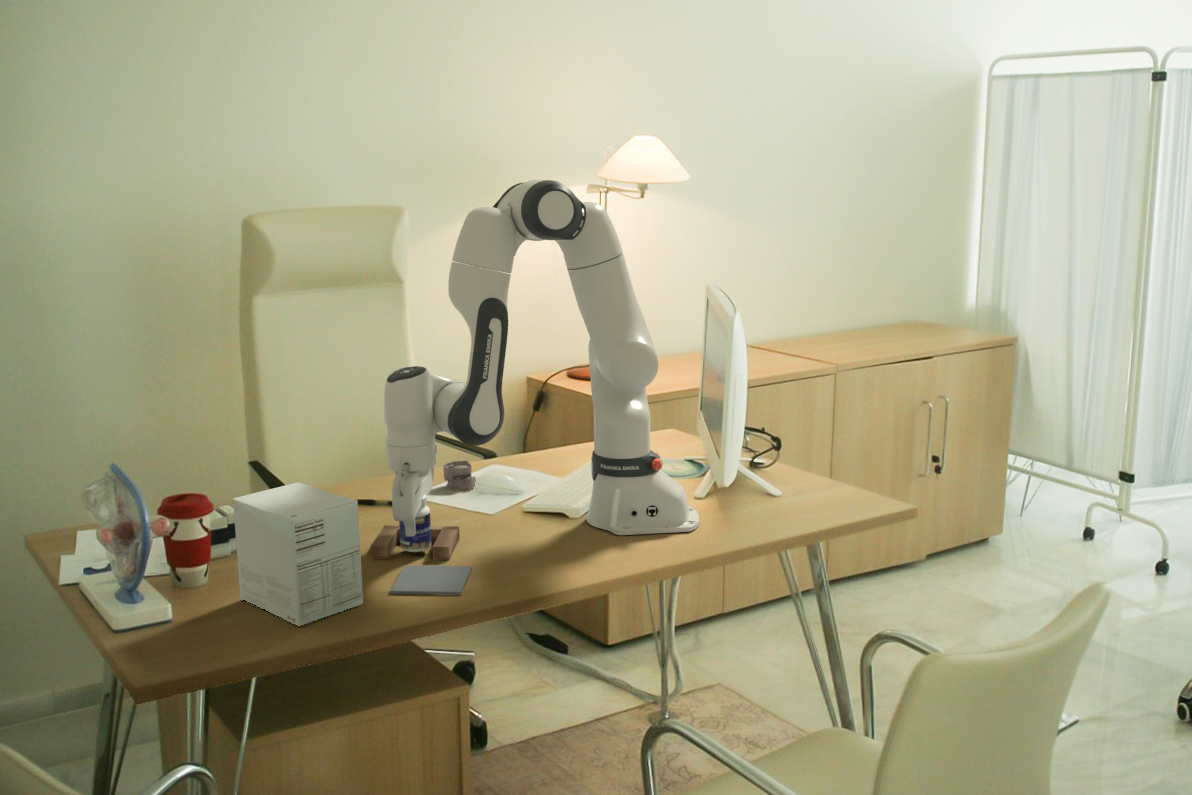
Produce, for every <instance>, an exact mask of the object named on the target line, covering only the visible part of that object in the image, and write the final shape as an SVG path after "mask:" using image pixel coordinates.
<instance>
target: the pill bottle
mask: <svg viewBox="0 0 1192 795" xmlns="http://www.w3.org/2000/svg"><path fill="white" fill-rule="evenodd" d="M427 502H428V496H426V495H424V496H423V498H422V506H421V508H420V509H419V511H418V513H417V514H416V516H415V525H416V527H417V529H416V530H417V532H416V534H415V536H406V534H405V526H404V523H403V521H398V523H399V527H400V541H399V545H400V549H401V550H403V551H405V552H408V553H409V552H410V553H419V552H423V551H426V550H428V549H430V548H431V546H432V542H431V526H432V524H431V510H430V508H429V506H427V505H426V504H427Z"/></svg>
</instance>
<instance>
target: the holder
mask: <svg viewBox="0 0 1192 795" xmlns="http://www.w3.org/2000/svg"><path fill="white" fill-rule="evenodd" d="M460 537H461V536H460V526H459V525H431V543H434V544H433V545H432V559H433V560H434V561H450V559H451V558H452V556H453V553H454V551H455V550H456V547H457V545H458V542H459V541H460ZM398 542H400V527H399V525H398V524H397V525H396V524H395V525H391V524H389V525H387V524H385V525H384V526H383V527H382V528H381V530H380V531H379V533H378V534H377V536H376V538H375V539H374V540H373V542H372V543H371V545H370V559H371V560H388V559H389V557H390V556H391V554H392V553H391V552H393V551H394V549H395V548H396V546H397V545H398Z"/></svg>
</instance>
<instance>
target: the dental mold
mask: <svg viewBox="0 0 1192 795" xmlns="http://www.w3.org/2000/svg"><path fill="white" fill-rule="evenodd" d="M472 467H473V466H472V465H471V463H470V462H469V461H468V460H457V461H456V460H455V461H450V462H447V463H444V464H443V466H442V468H443V479H444V481H446V482H447V483H446V485H445V488H447V487H448V488H447V489H449V488H450V489H449V490H454V489H459V491H467V492H470V491H471V490H472V491H473V489H474V487H475V482H476V483H477V480H476V479H477V478H476V476H475V475H474V476H472ZM474 490H475V489H474Z"/></svg>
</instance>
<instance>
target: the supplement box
mask: <svg viewBox="0 0 1192 795" xmlns="http://www.w3.org/2000/svg"><path fill="white" fill-rule="evenodd" d="M232 501H233V503H232V504H233V505H232V506H233V516H234V528H235V529H234V530H235V544H236V556H237V571H238V572H237V573H238V582H239V583H238V585H239V596H240V598H241V599H244V600H246V601H248V602H250V603H252V604H254V605H257V606H259V607H260V608H263V609H265V610H266V611H269V612H271V613H273V614H275V615H277V616H279V617H281V618H283V619H285V620H287V621H289V622H292V623H294V624H296V625H302V626H304V625H303V624H305V625H308V624H311V623H313V621H314V622H317V621H319V620H321V618H322V619H324V617H325V618H328V617H330V615H331V616H333V614H334V615H336V614H339V613H342V612H344V610H345V611H348V610H350V608H351V609H353V608H356V607H358V606H362V605H363V604H364V595H363V594H364V593H363V592H364V590H363V575H362V574H363V573H362V557H361V556H362V554H361V539H360V523H359V504H358V502H359V501H358V500H357V499H353V498H350V497H346V496H344V495H343V496H342V495H341V494H337V493H333V492H331V491H327V490H324V489H321V488H319V487H318V488H317V487H314V486H311V485H309V484H305V483H302V482H299V481H298V482H294V483H290V484H285V485H282V486H278V487H274V488H270V489H265V490H262V491H257V492H252V493H250V494H246V495H242V496H238V497H233V499H232ZM248 602H247V603H248ZM250 603H249V604H250ZM252 604H251V605H252ZM254 605H253V606H254ZM260 608H259V609H260ZM347 609H348V610H347ZM266 611H265V612H266ZM338 612H339V613H338ZM277 616H276V617H277ZM327 616H328V617H327ZM279 617H278V618H279ZM281 618H280V619H281ZM283 619H282V620H283ZM318 619H319V620H318ZM285 620H284V621H285ZM287 621H286V622H287ZM289 622H288V623H289ZM310 622H311V623H310ZM307 623H308V624H307Z"/></svg>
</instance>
